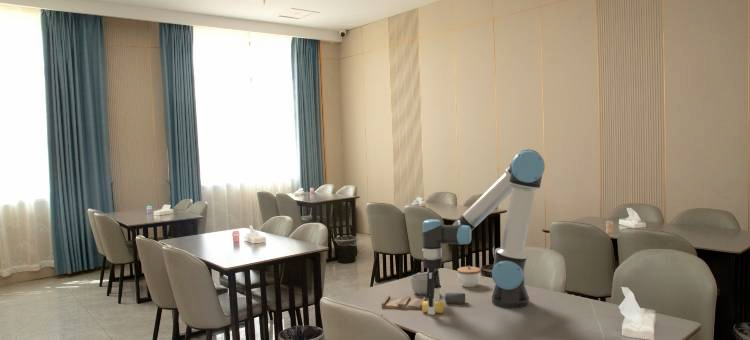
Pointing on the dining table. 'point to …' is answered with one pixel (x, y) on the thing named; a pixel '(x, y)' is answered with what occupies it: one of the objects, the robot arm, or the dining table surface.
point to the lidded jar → (469, 276)
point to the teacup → (419, 283)
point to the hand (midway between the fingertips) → (434, 308)
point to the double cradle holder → (403, 303)
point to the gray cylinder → (455, 298)
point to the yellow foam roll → (438, 307)
